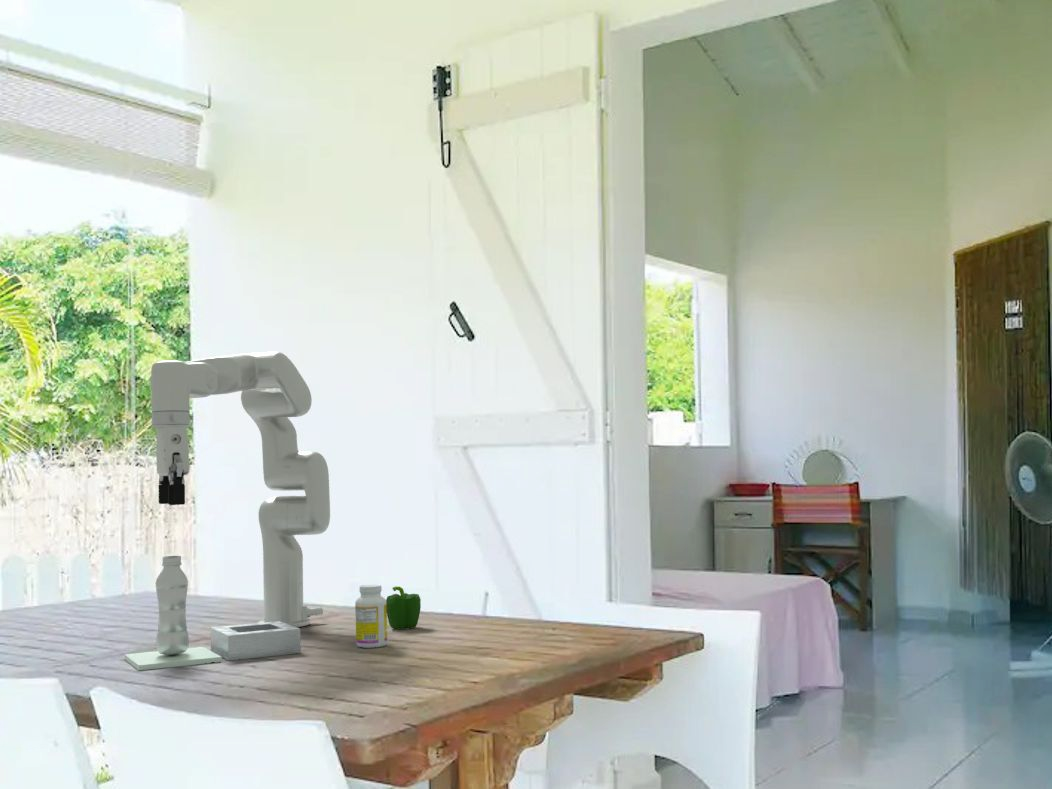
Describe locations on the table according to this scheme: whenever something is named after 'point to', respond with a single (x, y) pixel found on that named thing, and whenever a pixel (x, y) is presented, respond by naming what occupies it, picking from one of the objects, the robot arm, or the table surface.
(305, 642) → the table surface
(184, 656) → the pad
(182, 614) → the plastic bottle
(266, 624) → the bore block
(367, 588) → the supplement bottle
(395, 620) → the bell pepper
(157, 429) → the robot arm
